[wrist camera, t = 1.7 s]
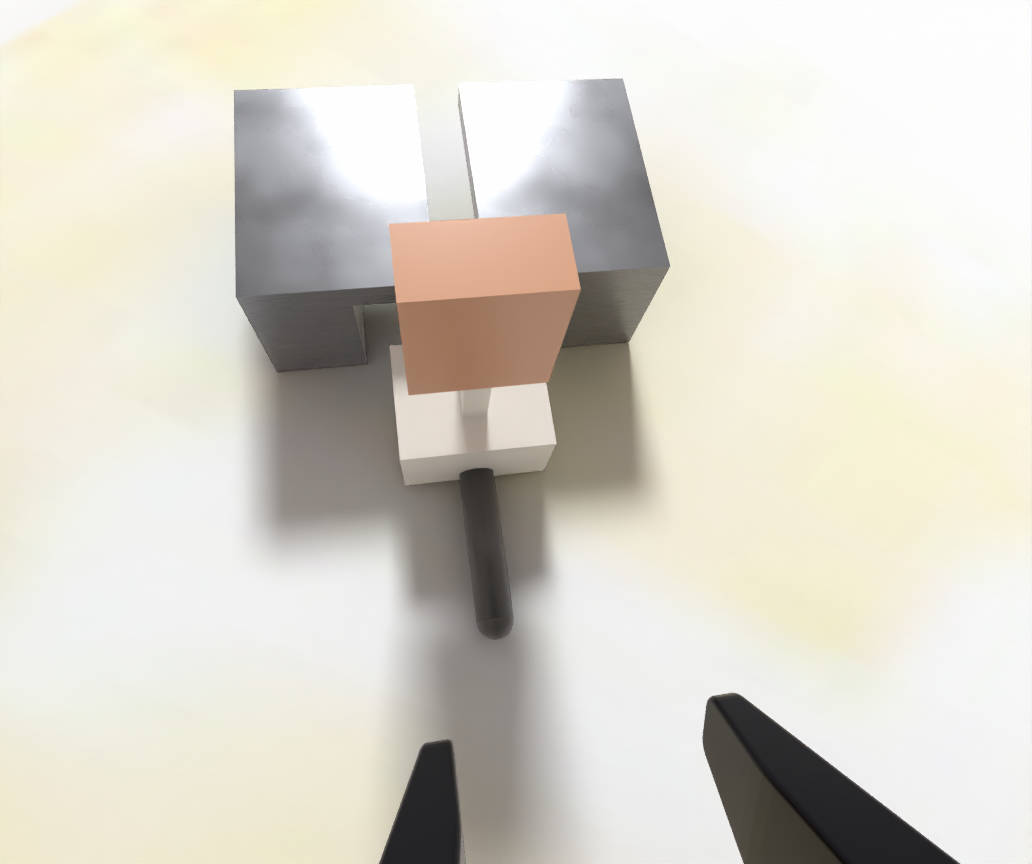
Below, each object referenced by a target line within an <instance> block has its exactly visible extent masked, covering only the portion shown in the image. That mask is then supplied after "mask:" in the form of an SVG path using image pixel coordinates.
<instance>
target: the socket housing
mask: <svg viewBox="0 0 1032 864" xmlns="http://www.w3.org/2000/svg"><path fill="white" fill-rule="evenodd" d="M458 107H459V114H460V121H461V128H462V134H463V141H464V148H465V155H466V162H467V168H468V175H469V182H470V189H471V196H472V202H473V209H474V216H475V219H479V218H496V217H513V216H530V215H547V214H565V213H566V217H567V222H568V227H569V232H570V237H571V242H572V247H573V252H574V257H575V262H576V267H577V272H578V277H579V282H580V287H581V290H580V293H579V296H578V299H577V302H576V305H575V308H574V311H573V313H572V316H571V319H570V322H569V325H568V328H567V331H566V334H565V336H564V339H563V342H562V345H561V347H572V346H584V345H596V344H607V343H619V342H629V341H630V339H631V337H632V335H633V333H634V332H635V330H636V328H637V326H638V324H639V322H640V321H641V319H642V317H643V315H644V313H645V311H646V310H647V308H648V306H649V304H650V302H651V300H652V299H653V297H654V295H655V293H656V291H657V289H658V288H659V286H660V284H661V282H662V280H663V278H664V276H665V275H666V273H667V271H668V269H669V267H670V264H669V260H668V256H667V252H666V248H665V244H664V240H663V236H662V232H661V228H660V224H659V220H658V217H657V213H656V209H655V205H654V201H653V197H652V193H651V189H650V185H649V181H648V177H647V173H646V169H645V165H644V161H643V157H642V153H641V149H640V145H639V141H638V137H637V133H636V129H635V125H634V121H633V117H632V113H631V109H630V105H629V101H628V97H627V93H626V90H625V86H624V82H623V79H594V80H561V81H528V82H495V83H461V84H459V98H458ZM234 142H235V252H236V298H237V300H238V302H239V304H240V305H241V307H242V309H243V311H244V313H245V314H246V316H247V318H248V320H249V322H250V324H251V325H252V327H253V329H254V331H255V333H256V334H257V336H258V338H259V340H260V342H261V343H262V345H263V347H264V349H265V351H266V353H267V354H268V356H269V358H270V360H271V362H272V363H273V365H274V367H275V369H276V371H277V372H282V371H294V370H305V369H317V368H329V367H340V366H352V365H364V364H367V354H366V341H365V328H364V315H363V305H371V304H385V303H396V293H395V283H394V273H393V263H392V252H391V242H390V232H389V224H393V223H410V222H427V221H430V220H429V212H428V204H427V196H426V187H425V179H424V171H423V162H422V154H421V146H420V138H419V129H418V121H417V113H416V104H415V96H414V88H413V85H395V86H362V87H329V88H296V89H263V90H234Z"/></svg>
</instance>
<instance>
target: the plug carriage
mask: <svg viewBox="0 0 1032 864" xmlns="http://www.w3.org/2000/svg"><path fill="white" fill-rule="evenodd" d="M389 232H390V242H391V252H392V263H393V273H394V283H395V293H396V304H397V311H398V319H399V326H400V334H401V342H402V344H400V345H389V347H390V358H391V369H392V380H393V391H394V402H395V413H396V424H397V435H398V446H399V457H400V464H401V468H402V473H403V478H404V482H405V486H408V485H417V484H426V483H435V482H444V481H453V480H460V486H461V494H462V502H463V511H464V519H465V527H466V536H467V544H468V552H469V561H470V569H471V577H472V586H473V594H474V602H475V611H476V619H477V625H478V628H479V630H480V631H481V633H482V634H483V635H484V636H486V637H488V638H490V639H499V638H502V637H504V636H506V635H507V634H508V633H509V632H510V630H511V629H512V626H513V621H514V620H513V610H512V603H511V596H510V588H509V581H508V574H507V567H506V559H505V552H504V545H503V537H502V530H501V523H500V516H499V508H498V501H497V494H496V487H495V479H494V476H498V475H506V474H515V473H524V472H533V471H542V470H544V469H545V467H546V465H547V463H548V461H549V459H550V457H551V455H552V452H553V450H554V448H555V446H556V444H557V442H556V437H555V431H554V425H553V419H552V413H551V407H550V402H549V396H548V390H547V384H546V383H548V382H549V380H550V377H551V374H552V371H553V368H554V365H555V362H556V359H557V357H558V354H559V351H560V348H561V345H562V342H563V339H564V336H565V334H566V331H567V328H568V325H569V322H570V319H571V316H572V313H573V311H574V308H575V305H576V302H577V299H578V296H579V293H580V290H581V287H580V282H579V277H578V272H577V267H576V262H575V257H574V252H573V247H572V242H571V237H570V232H569V227H568V222H567V217H566V213H565V214H547V215H530V216H513V217H496V218H479V219H461V220H444V221H427V222H410V223H393V224H389Z"/></svg>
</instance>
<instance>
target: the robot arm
mask: <svg viewBox="0 0 1032 864" xmlns="http://www.w3.org/2000/svg"><path fill="white" fill-rule="evenodd" d="M703 747H704V751H705V755H706V758H707V761H708V764H709V767H710V769H711V772H712V775H713V778H714V781H715V784H716V786H717V789H718V792H719V795H720V798H721V801H722V804H723V806H724V809H725V812H726V815H727V818H728V821H729V823H730V826H731V829H732V832H733V835H734V838H735V841H736V843H737V846H738V849H739V852H740V854H741V857H742V860H743V862H744V864H960V863H958V862H957V861H956V860H955V859H953V858H952V857H951V856H949V855H948V854H947V853H945V852H944V851H943V850H942V849H940V848H939V847H938V846H936V845H935V844H934V843H932V842H931V841H930V840H929V839H927V838H926V837H925V836H923V835H922V834H921V833H919V832H918V831H917V830H916V829H914V828H913V827H912V826H910V825H909V824H908V823H906V822H905V821H904V820H903V819H901V818H900V817H899V816H897V815H896V814H895V813H893V812H892V811H891V810H890V809H888V808H887V807H886V806H884V805H883V804H882V803H880V802H879V801H878V800H877V799H875V798H874V797H873V796H871V795H870V794H869V793H867V792H866V791H865V790H864V789H862V788H861V787H860V786H858V785H857V784H856V783H854V782H853V781H852V780H850V779H849V778H848V777H847V776H845V775H844V774H843V773H841V772H840V771H839V770H837V769H836V768H835V767H834V766H832V765H831V764H830V763H828V762H827V761H826V760H824V759H823V758H822V757H821V756H819V755H818V754H817V753H815V752H814V751H813V750H811V749H810V748H809V747H808V746H806V745H805V744H804V743H802V742H801V741H800V740H798V739H797V738H796V737H795V736H793V735H792V734H791V733H789V732H788V731H787V730H785V729H784V728H783V727H782V726H780V725H779V724H778V723H776V722H775V721H774V720H772V719H771V718H770V717H769V716H767V715H766V714H765V713H763V712H762V711H761V710H759V709H758V708H757V707H756V706H754V705H753V704H752V703H750V702H749V701H748V700H746V699H745V698H744V697H742V696H741V695H739V694H737V693H728V694H722V695H715V696H712V697H710V698H709V699H708V701H707V705H706V713H705V721H704V729H703ZM379 864H466V861H465V851H464V841H463V832H462V822H461V812H460V802H459V793H458V783H457V773H456V764H455V754H454V745H453V742H452V741H451V740H441V741H435V742H429V743H425V744H424V745H423V746H422V747H421V749H420V751H419V754H418V756H417V759H416V762H415V765H414V768H413V770H412V773H411V776H410V779H409V782H408V784H407V787H406V790H405V793H404V795H403V798H402V801H401V804H400V807H399V809H398V812H397V815H396V818H395V821H394V823H393V826H392V829H391V832H390V834H389V837H388V840H387V843H386V846H385V848H384V851H383V854H382V857H381V860H380V862H379Z"/></svg>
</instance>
